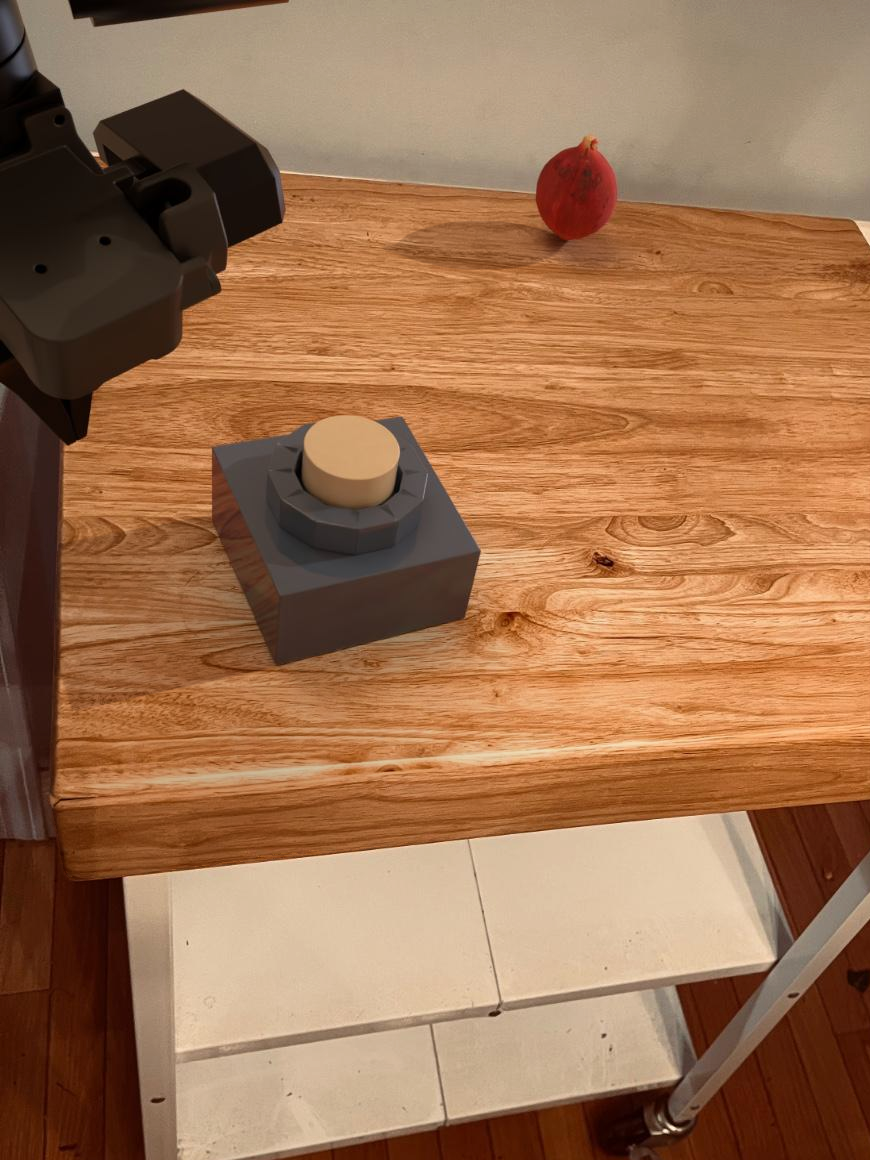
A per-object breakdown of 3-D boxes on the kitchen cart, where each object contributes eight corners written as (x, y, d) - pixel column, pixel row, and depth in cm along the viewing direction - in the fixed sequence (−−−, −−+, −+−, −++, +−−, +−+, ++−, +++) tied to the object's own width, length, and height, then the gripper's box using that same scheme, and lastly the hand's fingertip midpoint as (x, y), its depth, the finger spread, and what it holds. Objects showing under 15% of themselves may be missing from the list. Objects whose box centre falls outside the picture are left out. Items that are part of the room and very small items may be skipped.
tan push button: (320, 518, 54) (323, 487, 53) (288, 454, 57) (290, 422, 55) (409, 501, 57) (414, 470, 55) (374, 439, 59) (379, 408, 57)
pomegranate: (602, 270, 86) (631, 169, 80) (524, 252, 85) (547, 148, 79) (604, 227, 89) (631, 127, 84) (529, 209, 88) (551, 107, 83)
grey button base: (275, 666, 57) (281, 569, 51) (211, 520, 62) (211, 417, 56) (465, 618, 61) (488, 524, 56) (391, 486, 66) (406, 389, 61)
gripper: (-320, 325, 26) (-59, 707, 38) (363, 54, 35) (395, 435, 47) (-502, 103, 30) (-214, 511, 42) (148, -88, 39) (229, 296, 51)
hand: (70, 435), depth 46 cm, fingers closed
